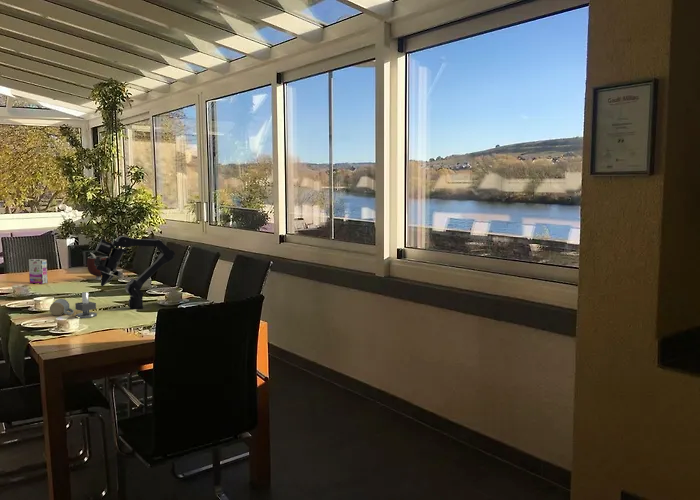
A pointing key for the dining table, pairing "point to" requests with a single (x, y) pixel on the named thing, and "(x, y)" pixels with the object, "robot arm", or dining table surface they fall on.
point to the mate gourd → (92, 266)
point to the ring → (85, 306)
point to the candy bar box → (38, 271)
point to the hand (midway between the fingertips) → (101, 285)
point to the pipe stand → (86, 313)
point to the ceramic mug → (60, 307)
